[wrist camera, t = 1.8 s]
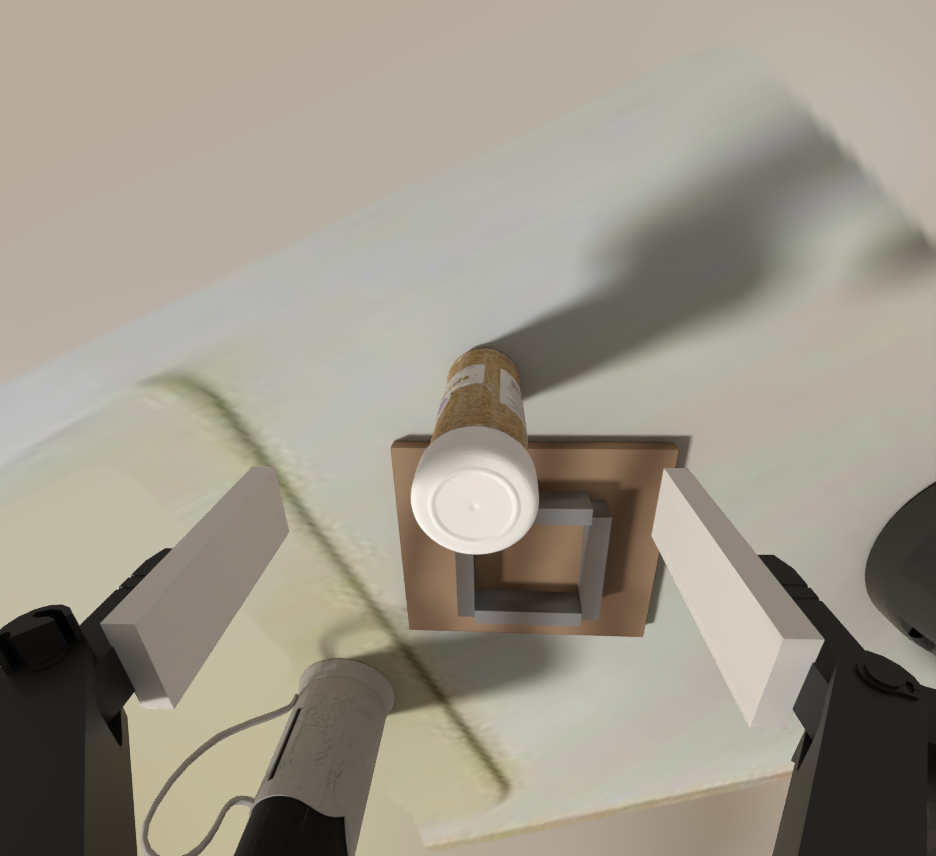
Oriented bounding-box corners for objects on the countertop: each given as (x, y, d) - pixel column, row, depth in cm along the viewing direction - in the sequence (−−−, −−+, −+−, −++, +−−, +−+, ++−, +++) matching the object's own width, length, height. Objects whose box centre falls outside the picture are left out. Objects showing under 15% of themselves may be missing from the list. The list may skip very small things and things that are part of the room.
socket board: (672, 442, 28) (691, 465, 26) (639, 626, 35) (651, 660, 32) (393, 441, 30) (383, 463, 27) (411, 619, 36) (404, 651, 33)
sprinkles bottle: (448, 344, 27) (408, 443, 15) (525, 349, 27) (549, 454, 14) (445, 414, 29) (407, 554, 16) (517, 420, 29) (532, 565, 16)
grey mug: (374, 735, 43) (316, 974, 29) (230, 682, 41) (96, 912, 27) (410, 681, 39) (364, 923, 26) (255, 621, 37) (116, 849, 24)
